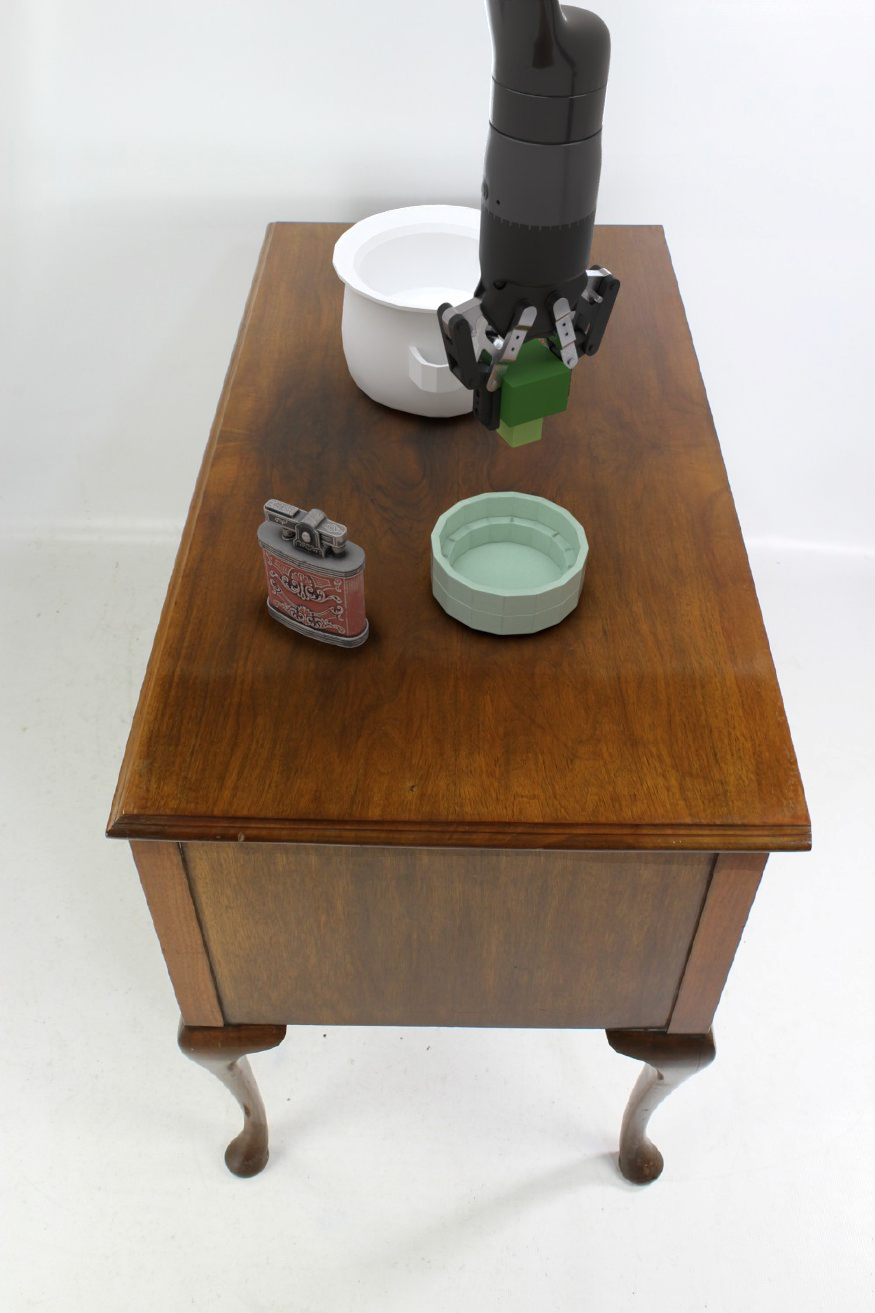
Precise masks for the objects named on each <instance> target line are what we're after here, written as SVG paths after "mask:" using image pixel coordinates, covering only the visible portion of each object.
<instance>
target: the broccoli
mask: <svg viewBox="0 0 875 1313" xmlns="http://www.w3.org/2000/svg"><path fill="white" fill-rule="evenodd" d="M491 362H492V361H491ZM490 365H491V364H490ZM489 367H490V366H489ZM570 376H571V377H572V375H571V370H570V369H569V368H568V367H567V366H566V365H565V364H564V363H563V362H562V361H561V360H560V359H558V358H557V357H556V356H555V355H554V354H553V353H552V352H551V351H550V350H549V349H548V348H547V347H546V344H544V343H542V341H541V340H539V338H535V339H533V340H531V341H529V342H527V343H525V344H522V345H521V348H520V350H519V353H518V355H517V358H516V360H515V362H514V363H513V364H509V366H508V368H507V370H506V373H505V375H504V378H503V380H502V383H501V385H500V388H501V389H502V394H501V408H500V427H499V429H496V430H495V431H496V432H497V433H498V434H499V435H500V437H501V438H502V439H503V440H504V441H505V442H506V443H507V445H509V446H510V447H511V449H514V448H517V447H520V446H524V445H527V444H530V443H533V442H537V441H540V440H541V439H542V432H543V424H544V418H546V417H550V416H553V415H557V414H560V413H563V412H566V411H567V409H568V408H567V407H568V400H569V396H568V392H569V393H570V391H569V389H570V388H569V384H570V385H571V383H570Z"/></svg>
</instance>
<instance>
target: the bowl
mask: <svg viewBox="0 0 875 1313" xmlns="http://www.w3.org/2000/svg"><path fill="white" fill-rule="evenodd" d="M589 550H590V547H589V543H588V538H587V536H586V533H585V528H584V526H583V525H582V524H581V523H580V522H579V521H578V520H577V519H576V518H575V517H574V515H572V514H571V512H570V511H569V510H568V509H566V508H564V507H563V506H560V505H558V504H557V503H554V502H553V501H551V500H549V499H547V498H546V497H542V496H537V495H533V494H528V493H522V492H518V491H497V492H484V493H481V494H477V495H474V496H470V497H467V498H465V499H462V500H460V501H458V502H456V503H455V504H454V505H453V506H451V507H449V509H447V510H446V511H445V512H443V513H441V515H440V516H439V517H438V519H437V521H436V523H435V525H434V528H433V530H432V532H431V534H430V573H429V574H430V582H431V589H432V590H431V591H432V594H433V597H434V598H435V599H436V601H437V602H438V603H439V605H440V606H441V608H442V609H443V610H444V611H445V613H446V614H447V615H448V616H451V617H452V618H454V619H456V620H457V621H459V622H461V623H462V624H464V625H466V626H467V627H469V628H471V629H473V630H477V631H481V632H486V633H490V634H494V635H502V636H505V635H525V634H534V633H538V632H539V631H542V630H544V629H547V628H550V627H552V626H555V625H557V624H559V623H561V621H563V620H564V619H565V618H566V617H567V616H568V615H570V614H571V612H572V611H573V610H575V609H576V607H577V606H578V603H579V600H580V597H581V594H582V591H583V588H584V581H585V575H586V570H587V563H588V558H589V557H588V556H589Z"/></svg>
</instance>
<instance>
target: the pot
mask: <svg viewBox="0 0 875 1313" xmlns="http://www.w3.org/2000/svg"><path fill="white" fill-rule="evenodd" d="M480 217H481V209H479V208H478V209H477V208H473V207H468V206H461V205H460V206H459V205H453V204H452V205H451V204H421V205H414V206H405V207H401V208H395V209H389V210H386V211H383V212H379V213H375V214H372V215H370V216H368V217H366V218H364V219H361V220H359V221H357V222H356V223H355V224H354V225H353V226H351V227H350V228H348V229H347V230H346V231H345V232H344V233H342V235H340V237H339V238H338V240H337V241H336V242H335V245H334V249H333V256H332V265H333V269H334V270H335V272H336V275H337V276H338V279H339V280H341V282H343V283H344V293H343V303H342V316H341V328H340V329H341V337H342V339H341V340H342V350H343V353H344V358H345V360H346V364H347V368H348V372H349V374H350V376H351V377H352V379H353V381H354V382H355V384H356V386H357V387H358V388H359V389H360V390H362V392H364V393H365V394H366V395H367V396H368V397H369V398H370V399H371V400H373V402H376V403H378V404H381V405H383V406H386V407H387V408H390V409H394V410H398V411H402V412H406V413H409V414H414V415H418V416H422V417H427V418H452V417H457V416H461V415H466V414H469V413H471V412H472V407H473V390H468V389H467V388H466V387H465V386H464V385H463V384H462V383H461V382H460V381H459V380H458V379H457V378H456V377H455V376H454V375H453V373H452V372H451V371H450V369H449V365H448V360H447V356H446V352H445V347H444V343H443V338H442V334H441V330H440V325H439V321H438V317H437V309H438V307H439V306H440V305H441V304H443V303H445V302H448V303H450V304H451V305H452V306H453V307H456V306H458V305H460V304H462V303H464V302H466V301H468V300H470V299H472V298H473V296H474V292H475V289H476V287H477V285H478V283H479V280H480V277H481V270H480V262H479V238H480ZM484 320H485V318H484V317H483V315H481V316H480V317H479V318H478V320H477V322H476V330H475V331H476V332H477V334H476V336H475V337H472V341H473V346H474V351H475V356H476V353H477V351H478V348H479V343H478V336H479V333H480V330H481V328H482V325H483V322H484ZM498 336H499V335H498ZM499 339H500V340H501V341H502V342H503V343H504V340H503V339H502V338H501V337H500V336H499Z"/></svg>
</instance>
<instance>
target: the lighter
mask: <svg viewBox="0 0 875 1313" xmlns="http://www.w3.org/2000/svg"><path fill="white" fill-rule="evenodd" d="M263 514H264V521H263V522H262V523H261V524H260V525H259V526H258V528H257V531H256V536H257V541H258V544H259V546H260V547H261V551H262V557H263V558H262V559H263V565H264V571H265V577H266V579H265V580H266V585H267V592H268V597H267V601H266V605H267V611H268V614H269V615H270V617H271V618H273V619H274V620H276V621H277V622H279V623H281V624H283V625H284V626H285V627H286V628H289V629H291V630H293V631H295V632H296V633H299V634H302V635H303V636H306V637H308V638H312V639H314V640H317V641H319V642H323V643H325V644H330V645H333V646H334V645H335V646H338V647H342V648H351V649H352V648H356V647H359V646H361V645H363V644H364V643H365V642H366V641H367V639H368V637H369V634H370V628H369V622H368V619H367V618H366V602H365V582H364V581H365V580H364V569H365V567H366V554H365V551H364V549H363V548H362V547H360V546H359V545H357V544H355V543H354V542H353V541H350V540H348V532H347V531H348V530H347V527H346V526H345V525H344V524H341V523H339V522H336V521H333V520H331V519H330V518H329V517H328V516H327V514H326V513H325V512H324V511H323V510H321V509H319V508H312V509H311V510H310V511H306V510H304V509H300V508H299V507H296V506H295V505H291V504H289V503H285V502H283V501H280V500H278V499H274V498H271V499H269V500H268V501H267V502H266V503H265V504H264V505H263Z"/></svg>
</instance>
